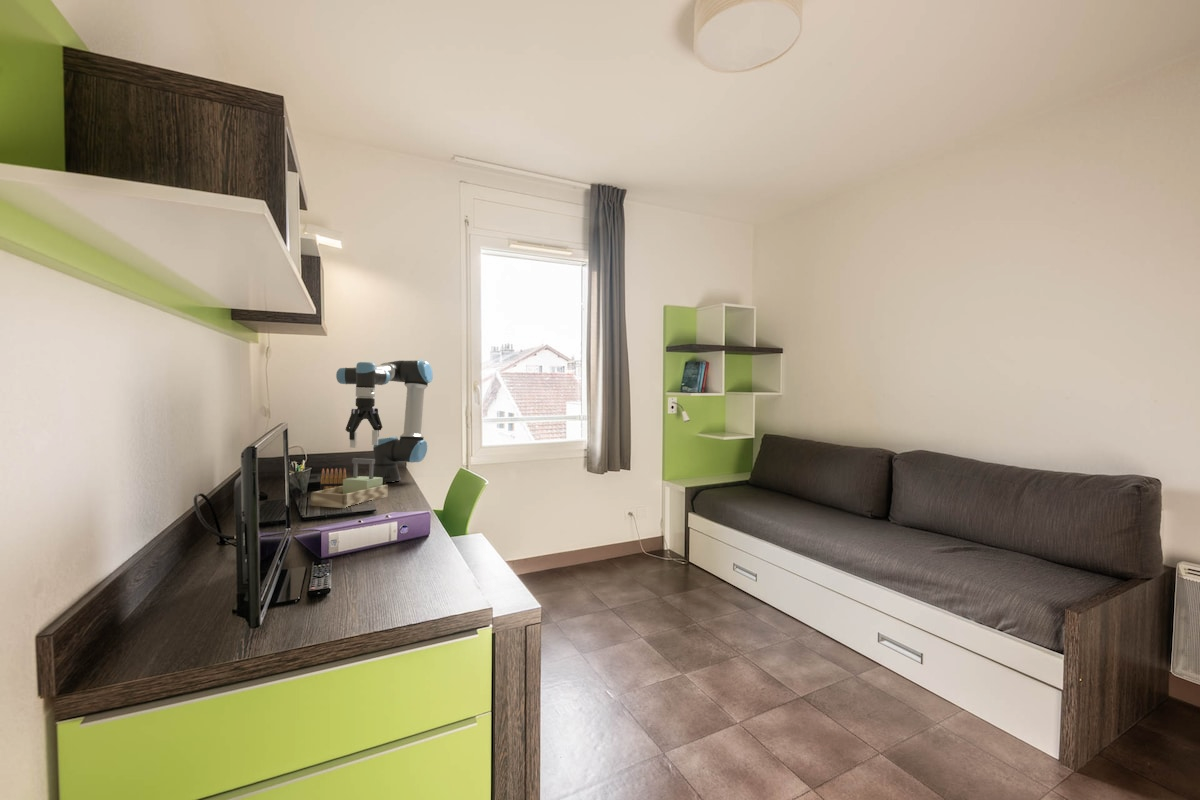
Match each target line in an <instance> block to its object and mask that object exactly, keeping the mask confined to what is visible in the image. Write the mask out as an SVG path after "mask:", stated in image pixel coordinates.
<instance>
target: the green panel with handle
mask: <svg viewBox="0 0 1200 800" xmlns="http://www.w3.org/2000/svg"><path fill="white" fill-rule="evenodd" d="M351 463H352V464H353V474H352V477H346V479H343V494H348V493H352V492H356V491H361V490H365V489H369V488H374V487H378V486H382V485H384V483H383V478H382V477H373V468H374V464H375V459H373V458H362V457H361V458H360V457H359V458H357V457H353V458H352V459H351ZM359 464H361V465H368V466H369V467H368V476H366V475H365V476H363V475H359V474H358V473H359V469H358V468H359V466H358V465H359ZM358 475H359V476H358Z"/></svg>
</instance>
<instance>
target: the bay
mask: <svg viewBox="0 0 1200 800" xmlns="http://www.w3.org/2000/svg"><path fill="white" fill-rule="evenodd" d="M388 492H389V484H383V485H382V486H378V487H374V488H369V489H365V490H361V491H356V492H352V493H348V494H343V486H340V487H335V488H330V489H325V490H320V489H319V490H317V491H312V492H310V506H313V507H325V508H326V507H327V508H336V509H337V508H338V509H346V507H347V508H349V507H348V506H351V505H355V504H358V505H360V504H359V503H361V502H364V501H368V500H372V501H373V502H374V501H377V500H380V499H383V498H387V497H388V495H389V494H388ZM372 501H371V502H372ZM355 506H356V505H355ZM351 507H352V506H351Z"/></svg>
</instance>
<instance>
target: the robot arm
mask: <svg viewBox="0 0 1200 800" xmlns="http://www.w3.org/2000/svg"><path fill="white" fill-rule="evenodd" d="M433 375H434V374H433V369H432V366H431V364H430V363H429V362H428V361H426V360H418V359H417V360H394V361H389V362H383V363H381V364H377V365H376V364H375V362H367V361H360V362H357V363H356V367H340V368H338V370H337V371H336V374H335V377H336V380H337V382H338V384H341V385H355V397H356V398H355V407H356V408H351V410H350V411H351V414H350V416H349V419H348V421H347V425H346V427H345V432H347V433H349V438H348V439H349V448H350V449H351V448H352V449H357V444H358V441H357V440H358V432H356V431H357V429H358V428H359V426H360V424H361V423H362V421H363V420H367V421H368V422H369V424H370V426H371V428H372V430H371V445H373V446H372V447H373V452H372V453H373V455H372V456H373V457H372V459H375V464H374V468H373V477H382V478H383V482H392V481H397V480H400V481H401V475H400V472H399V468H398V463H411V464H412V463H420V462H423V460H424V459H425V457H426V455H427V452H428V445H427V441H426V440H424V436H423V435H422V422H423V410H424V398H425V397H424V396H425V389H427V388H428V384H430V383H431V382H432V381H433ZM389 382H397V383H404V386H405V387H406V399H405V409H404V410H405V411H404V426H403V433H402V434H401V435H400V436H399V438H398V436H393V437H384V438H383V437H382V438H379V437H380V431H381V430H382V429H383V425H382V421H381V417H380V415H379V409H378V408H377V407H375V404H376V403H375V402H376V401H375V398H374V397H375V395H376V393H375V388H376V386H384V385H387V384H388V383H389Z"/></svg>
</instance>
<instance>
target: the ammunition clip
mask: <svg viewBox="0 0 1200 800" xmlns="http://www.w3.org/2000/svg"><path fill="white" fill-rule="evenodd" d="M338 471H339V472H338ZM343 479H347V471H346V467H344V468H343V471H342V468H341V467H339V470H338V468H337V467H336V468H335V469H333V467H332V468H330V470H329V468H328V467H327V468H326V471H325V468H324V467H323V468H322V469H321V477H320V485H319V491H320V490H325V489H330V488H335V487H340V486H343Z"/></svg>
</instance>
